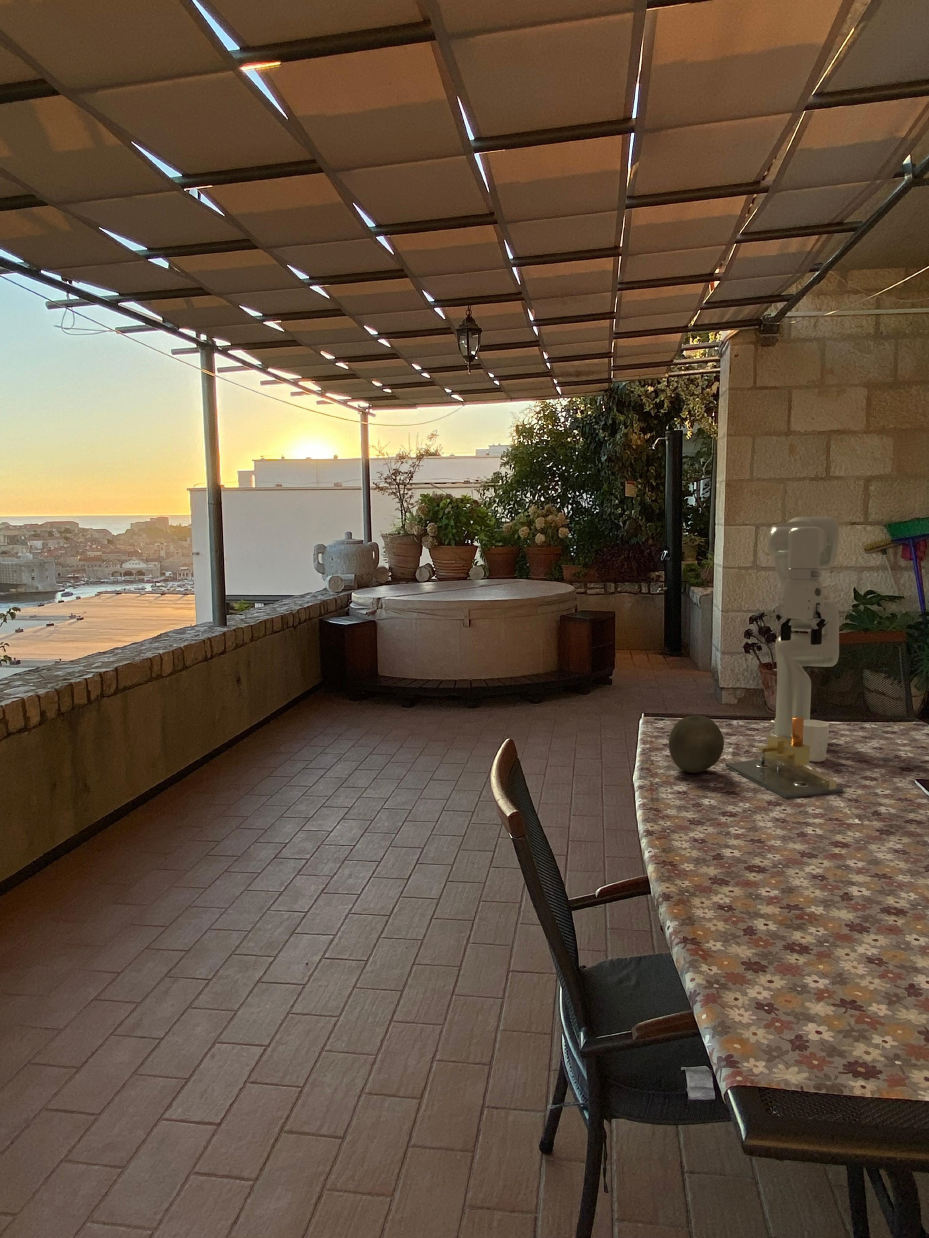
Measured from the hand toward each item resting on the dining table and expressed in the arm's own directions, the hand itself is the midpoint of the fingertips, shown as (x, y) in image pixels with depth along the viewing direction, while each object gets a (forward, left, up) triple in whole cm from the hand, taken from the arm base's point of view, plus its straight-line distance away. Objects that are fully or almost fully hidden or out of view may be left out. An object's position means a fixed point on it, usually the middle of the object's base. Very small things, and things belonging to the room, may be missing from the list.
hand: (800, 642), depth 214 cm
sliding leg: (+3, -4, -33) cm, 33 cm away
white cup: (-9, +12, -35) cm, 38 cm away
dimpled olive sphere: (-7, -25, -35) cm, 43 cm away
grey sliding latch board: (+4, -7, -34) cm, 35 cm away
